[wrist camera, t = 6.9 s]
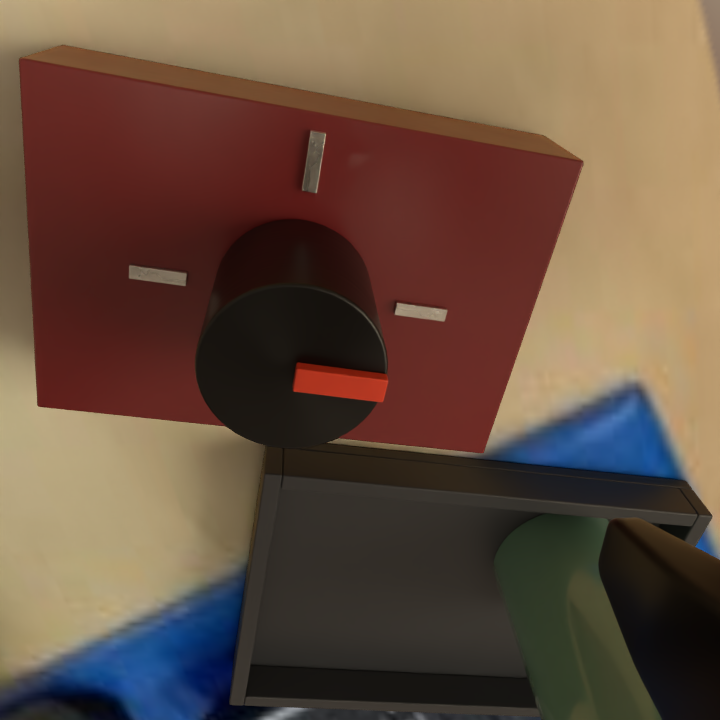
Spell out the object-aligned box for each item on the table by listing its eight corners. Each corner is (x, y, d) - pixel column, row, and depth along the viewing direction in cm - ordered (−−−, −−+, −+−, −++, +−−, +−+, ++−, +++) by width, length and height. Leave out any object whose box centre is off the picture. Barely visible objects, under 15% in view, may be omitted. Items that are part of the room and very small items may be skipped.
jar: (477, 598, 28) (578, 950, 18) (515, 503, 25) (657, 850, 15) (594, 606, 28) (753, 946, 18) (641, 514, 26) (855, 850, 16)
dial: (208, 349, 18) (185, 447, 14) (223, 205, 16) (200, 274, 12) (354, 368, 19) (368, 467, 15) (385, 232, 17) (409, 306, 13)
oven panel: (68, 353, 21) (34, 410, 18) (60, 44, 17) (14, 57, 14) (463, 400, 23) (485, 457, 20) (545, 135, 19) (587, 163, 16)
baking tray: (233, 662, 29) (228, 705, 27) (266, 436, 23) (263, 474, 22) (578, 679, 32) (594, 719, 30) (686, 480, 26) (714, 516, 24)
